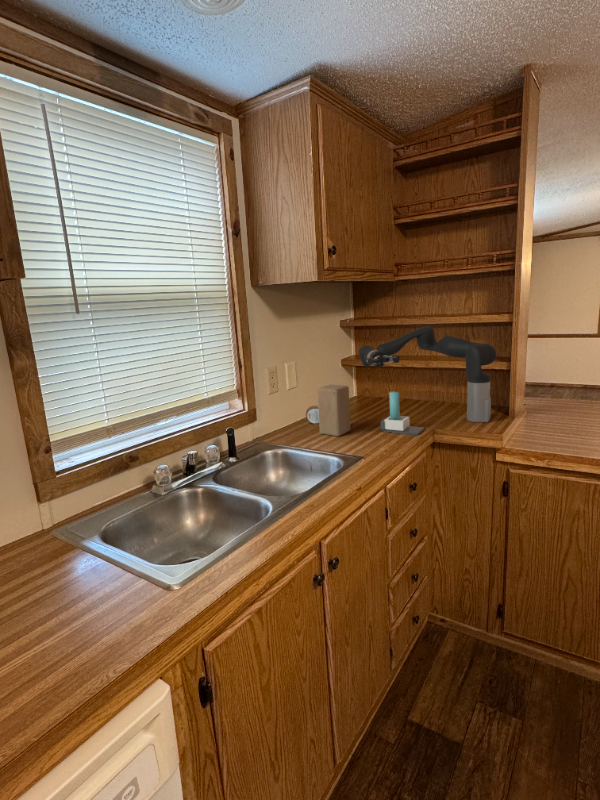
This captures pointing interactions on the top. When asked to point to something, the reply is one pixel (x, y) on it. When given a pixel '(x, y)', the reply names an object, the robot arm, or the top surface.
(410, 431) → the grey tray
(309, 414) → the tin
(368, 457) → the top surface
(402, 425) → the socket block
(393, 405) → the dowel
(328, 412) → the wooden block
